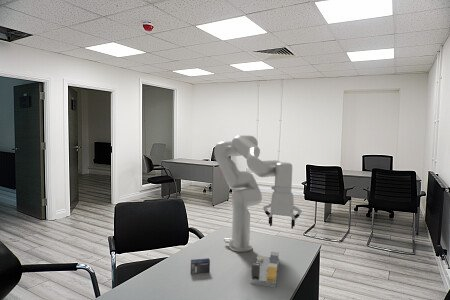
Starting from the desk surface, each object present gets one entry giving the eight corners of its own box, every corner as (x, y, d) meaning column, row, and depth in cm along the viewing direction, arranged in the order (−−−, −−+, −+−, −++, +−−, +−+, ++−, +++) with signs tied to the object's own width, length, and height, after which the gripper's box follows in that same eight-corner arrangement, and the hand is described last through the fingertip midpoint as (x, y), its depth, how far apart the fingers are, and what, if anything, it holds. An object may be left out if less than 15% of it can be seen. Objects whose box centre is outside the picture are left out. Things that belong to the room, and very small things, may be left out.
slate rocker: (268, 265, 135) (268, 263, 135) (270, 253, 144) (270, 251, 144) (278, 266, 134) (278, 264, 134) (279, 255, 143) (279, 252, 143)
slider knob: (251, 276, 124) (252, 265, 124) (252, 272, 127) (253, 262, 127) (258, 277, 124) (259, 266, 123) (259, 273, 127) (260, 263, 126)
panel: (250, 283, 123) (251, 275, 123) (257, 259, 146) (258, 252, 146) (275, 287, 121) (275, 278, 121) (278, 262, 144) (279, 254, 144)
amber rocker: (265, 278, 123) (265, 276, 123) (267, 265, 132) (267, 262, 131) (276, 280, 122) (276, 277, 122) (277, 266, 131) (278, 264, 130)
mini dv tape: (191, 274, 129) (191, 261, 129) (190, 273, 131) (190, 259, 130) (209, 272, 132) (209, 259, 131) (208, 271, 133) (209, 258, 133)
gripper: (262, 189, 134) (261, 227, 136) (302, 192, 130) (300, 231, 131) (265, 186, 142) (263, 222, 143) (302, 189, 137) (301, 226, 138)
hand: (281, 226), depth 137 cm, fingers open, 9 cm apart
